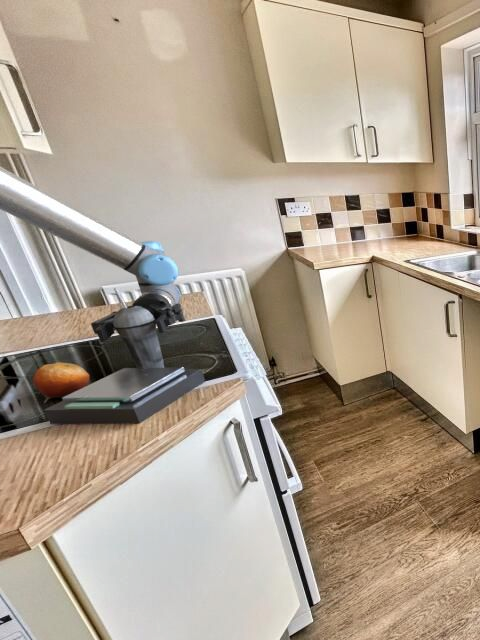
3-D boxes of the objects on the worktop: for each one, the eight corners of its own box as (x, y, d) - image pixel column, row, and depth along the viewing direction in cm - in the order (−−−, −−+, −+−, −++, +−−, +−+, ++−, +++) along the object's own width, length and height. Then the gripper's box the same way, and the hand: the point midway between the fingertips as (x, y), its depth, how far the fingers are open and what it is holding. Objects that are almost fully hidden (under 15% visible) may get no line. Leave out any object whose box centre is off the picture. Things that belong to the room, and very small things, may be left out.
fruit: (29, 390, 87) (43, 354, 87) (81, 396, 93) (95, 363, 93) (21, 404, 82) (36, 366, 82) (78, 410, 87) (92, 374, 87)
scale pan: (63, 402, 78) (61, 397, 77) (125, 372, 90) (124, 368, 89) (132, 401, 77) (130, 396, 77) (185, 371, 89) (183, 367, 89)
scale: (50, 424, 77) (41, 407, 76) (130, 382, 93) (124, 367, 92) (139, 423, 77) (132, 406, 75) (205, 381, 92) (200, 366, 91)
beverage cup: (178, 366, 101) (150, 284, 93) (143, 378, 95) (109, 292, 87) (161, 361, 104) (132, 282, 96) (125, 373, 97) (92, 289, 90)
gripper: (208, 313, 116) (197, 337, 98) (104, 328, 106) (70, 358, 88) (200, 287, 113) (187, 306, 95) (92, 299, 104) (55, 324, 85)
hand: (130, 331), depth 91 cm, fingers open, 9 cm apart
